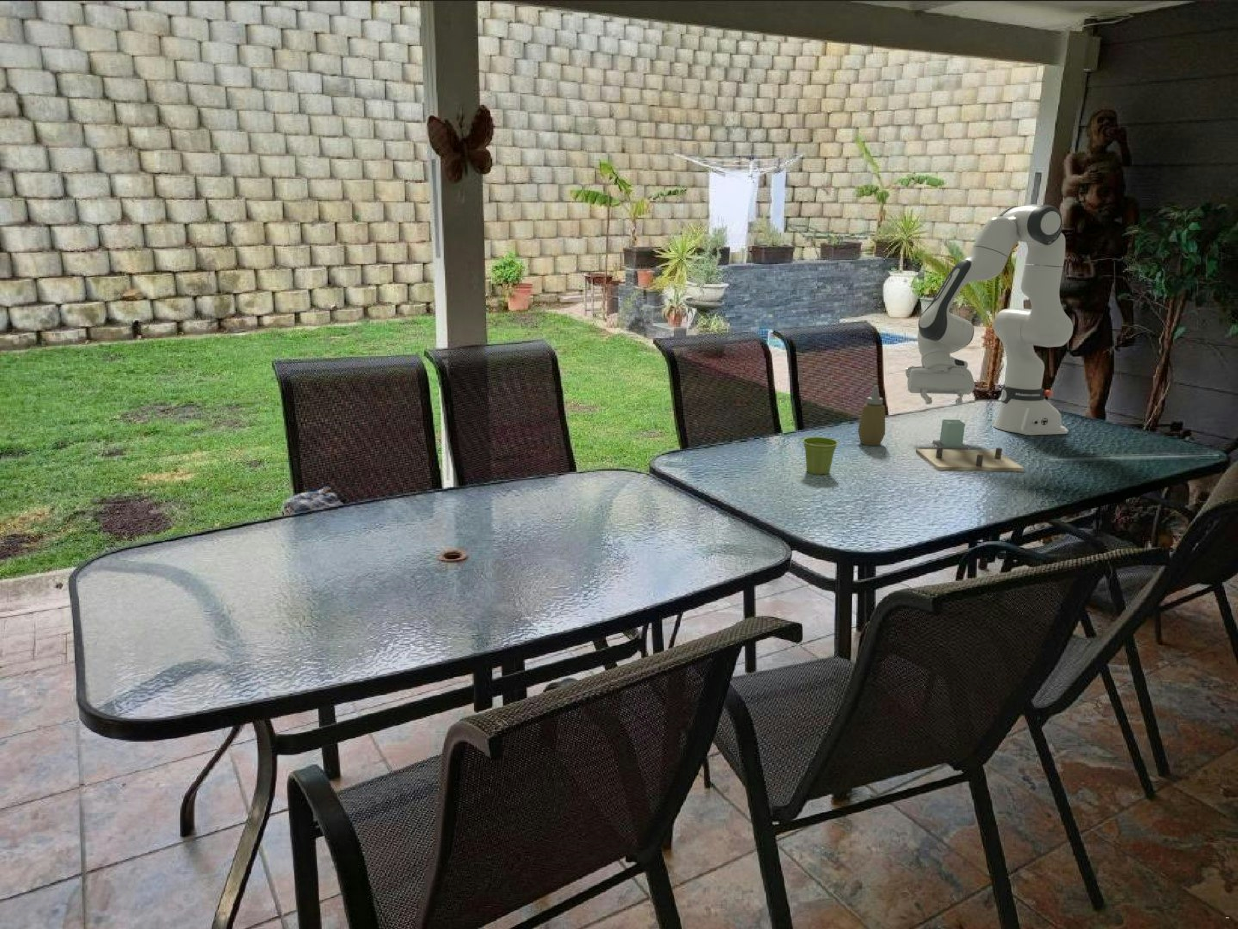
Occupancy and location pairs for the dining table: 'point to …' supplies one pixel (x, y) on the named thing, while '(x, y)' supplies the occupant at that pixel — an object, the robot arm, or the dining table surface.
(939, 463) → the locating board
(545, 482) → the dining table surface
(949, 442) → the flange block
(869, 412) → the squeeze bottle
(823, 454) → the plant pot
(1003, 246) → the robot arm
